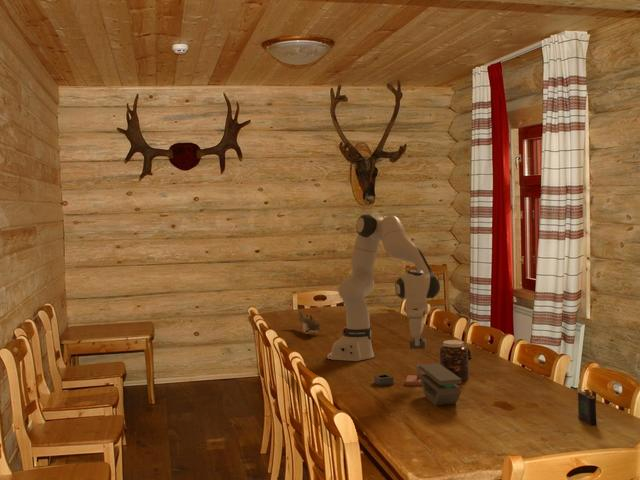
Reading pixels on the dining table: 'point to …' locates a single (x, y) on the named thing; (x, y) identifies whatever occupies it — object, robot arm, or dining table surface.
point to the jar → (455, 358)
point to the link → (421, 346)
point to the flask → (587, 407)
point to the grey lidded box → (440, 384)
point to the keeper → (414, 378)
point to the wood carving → (308, 323)
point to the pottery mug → (469, 353)
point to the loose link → (383, 379)
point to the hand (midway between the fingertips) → (418, 343)
